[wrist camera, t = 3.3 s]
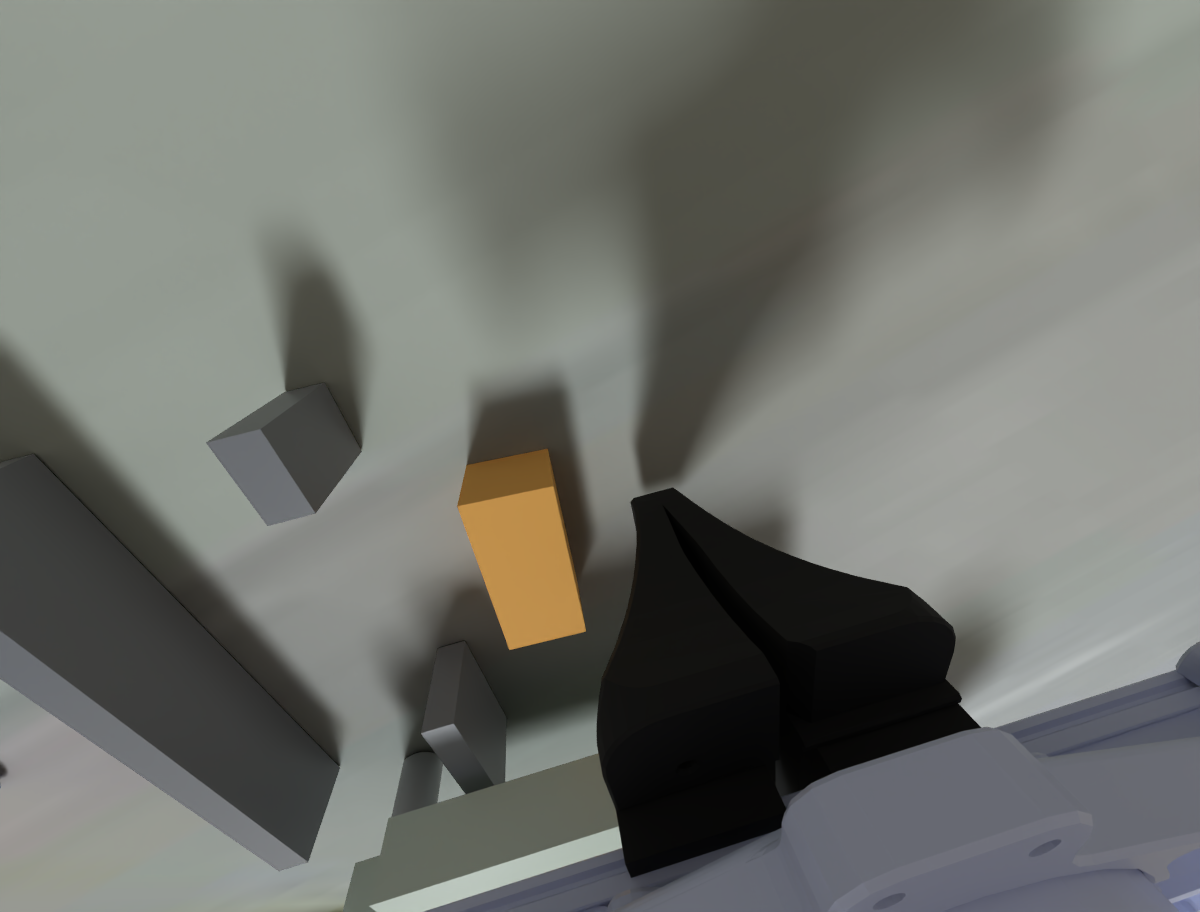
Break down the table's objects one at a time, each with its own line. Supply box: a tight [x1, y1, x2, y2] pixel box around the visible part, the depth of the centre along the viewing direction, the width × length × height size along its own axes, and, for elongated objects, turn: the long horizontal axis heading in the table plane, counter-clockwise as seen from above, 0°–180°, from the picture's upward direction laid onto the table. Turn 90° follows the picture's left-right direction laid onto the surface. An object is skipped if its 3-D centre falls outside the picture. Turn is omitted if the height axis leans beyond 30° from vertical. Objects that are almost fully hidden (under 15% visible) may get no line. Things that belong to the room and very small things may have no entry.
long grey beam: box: [0, 382, 507, 871], centre depth 13 cm, size 8×15×3 cm, turn 11°
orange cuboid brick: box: [457, 449, 586, 650], centre depth 13 cm, size 2×5×2 cm, turn 8°
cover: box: [343, 752, 622, 912], centre depth 16 cm, size 7×15×6 cm, turn 101°
